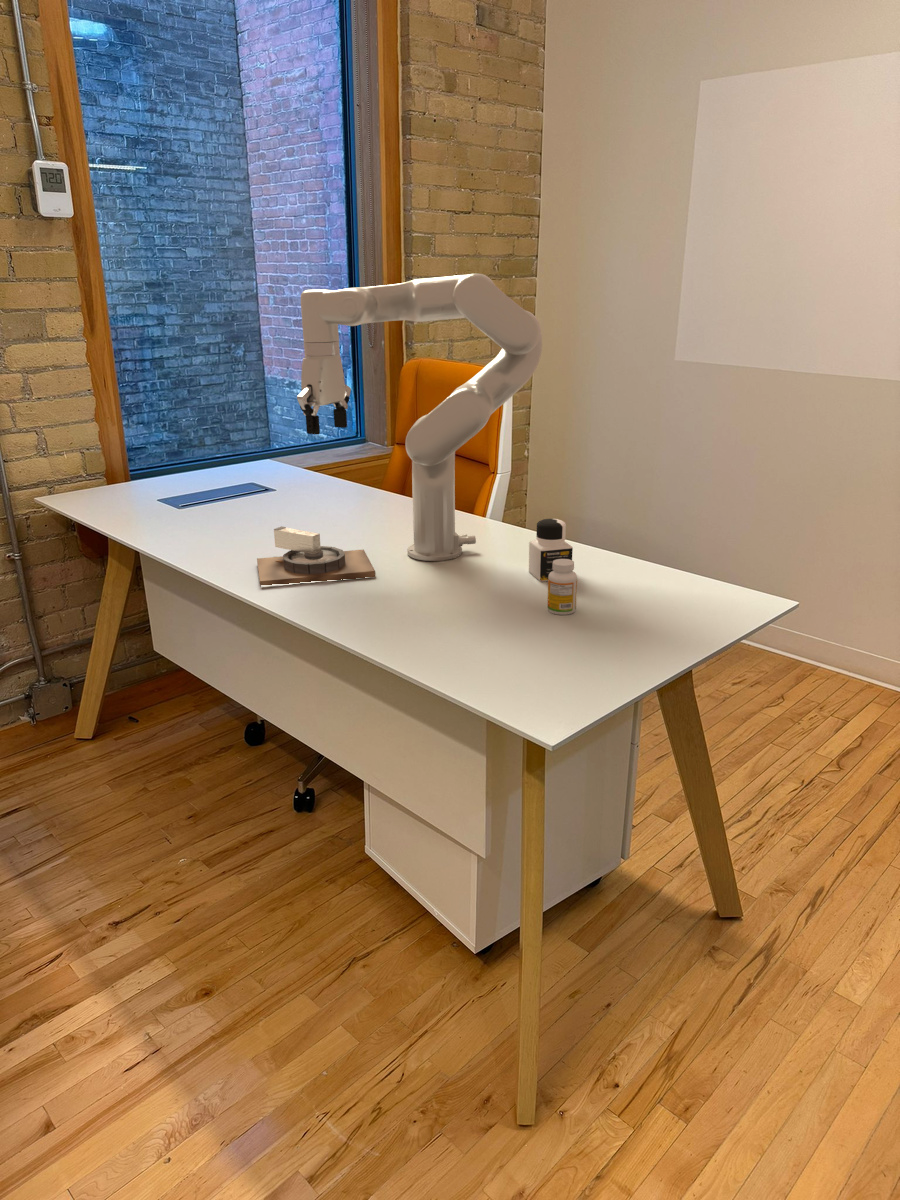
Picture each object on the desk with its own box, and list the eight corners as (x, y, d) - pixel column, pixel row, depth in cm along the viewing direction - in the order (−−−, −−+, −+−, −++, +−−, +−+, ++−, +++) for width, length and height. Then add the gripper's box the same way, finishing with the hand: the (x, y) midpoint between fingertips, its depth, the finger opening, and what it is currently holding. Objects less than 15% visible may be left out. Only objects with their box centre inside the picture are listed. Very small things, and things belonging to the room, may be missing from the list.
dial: (347, 560, 189) (345, 531, 186) (317, 573, 181) (315, 542, 178) (294, 551, 196) (292, 522, 194) (264, 562, 188) (261, 533, 186)
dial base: (363, 555, 198) (363, 540, 196) (375, 577, 183) (374, 560, 182) (257, 564, 192) (256, 548, 191) (260, 588, 178) (258, 571, 176)
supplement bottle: (557, 603, 167) (558, 555, 164) (581, 609, 164) (583, 560, 160) (541, 611, 163) (543, 562, 160) (566, 617, 160) (567, 568, 157)
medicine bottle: (540, 582, 179) (541, 526, 175) (528, 571, 185) (529, 517, 181) (571, 579, 181) (574, 523, 176) (559, 568, 187) (560, 515, 183)
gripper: (333, 347, 194) (337, 423, 200) (281, 353, 180) (288, 435, 186) (359, 347, 190) (364, 425, 196) (309, 354, 176) (316, 437, 182)
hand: (327, 430), depth 191 cm, fingers open, 9 cm apart
